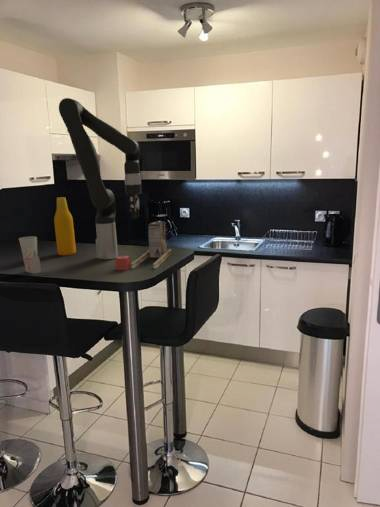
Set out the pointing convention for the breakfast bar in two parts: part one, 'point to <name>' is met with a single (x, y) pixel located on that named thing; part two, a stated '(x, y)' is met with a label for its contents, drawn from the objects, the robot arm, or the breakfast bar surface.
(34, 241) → the cup
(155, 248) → the coffee box
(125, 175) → the robot arm
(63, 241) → the beer bottle
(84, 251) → the breakfast bar surface
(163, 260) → the game track
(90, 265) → the breakfast bar surface
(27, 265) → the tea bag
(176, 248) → the breakfast bar surface
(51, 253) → the breakfast bar surface
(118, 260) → the red die
